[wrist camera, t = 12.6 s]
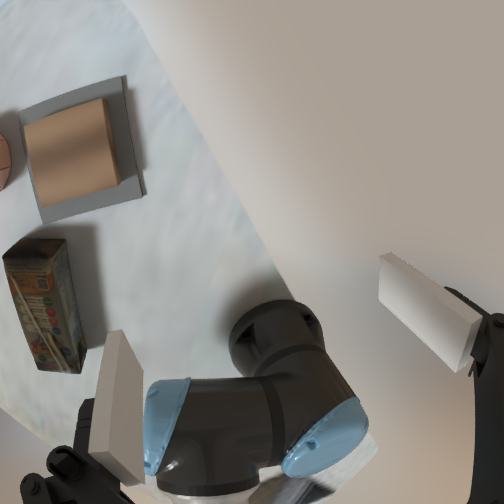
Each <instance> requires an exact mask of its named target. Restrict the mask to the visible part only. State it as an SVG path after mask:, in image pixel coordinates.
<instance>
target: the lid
mask: <svg viewBox="0 0 504 504" xmlns="http://www.w3.org/2000/svg"><path fill="white" fill-rule="evenodd" d="M23 127H24V133H25V139H26V145H27V150H28V155H29V160H30V164H31V169H32V173H33V178H34V182H35V186H36V190H37V193H38V197H39V201H40V204H41V208H45V207H48V206H51V205H54V204H57V203H60V202H64V201H67V200H70V199H73V198H77V197H80V196H84V195H87V194H91V193H94V192H98V191H102V190H105V189H109V188H113V187H117V186H118V185H119V184H120V183H121V182H122V178H121V174H120V169H119V164H118V159H117V155H116V149H115V144H114V139H113V133H112V128H111V122H110V116H109V109H108V103H107V100H105V99H102V98H101V99H97V100H94V101H91V102H88V103H84V104H81V105H78V106H75V107H72V108H69V109H67V110H64V111H61V112H58V113H55V114H53V115H50V116H48V117H45V118H42V119H40V120H37V121H35V122H32V123H30V124H28V125H25V126H23Z"/></svg>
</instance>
